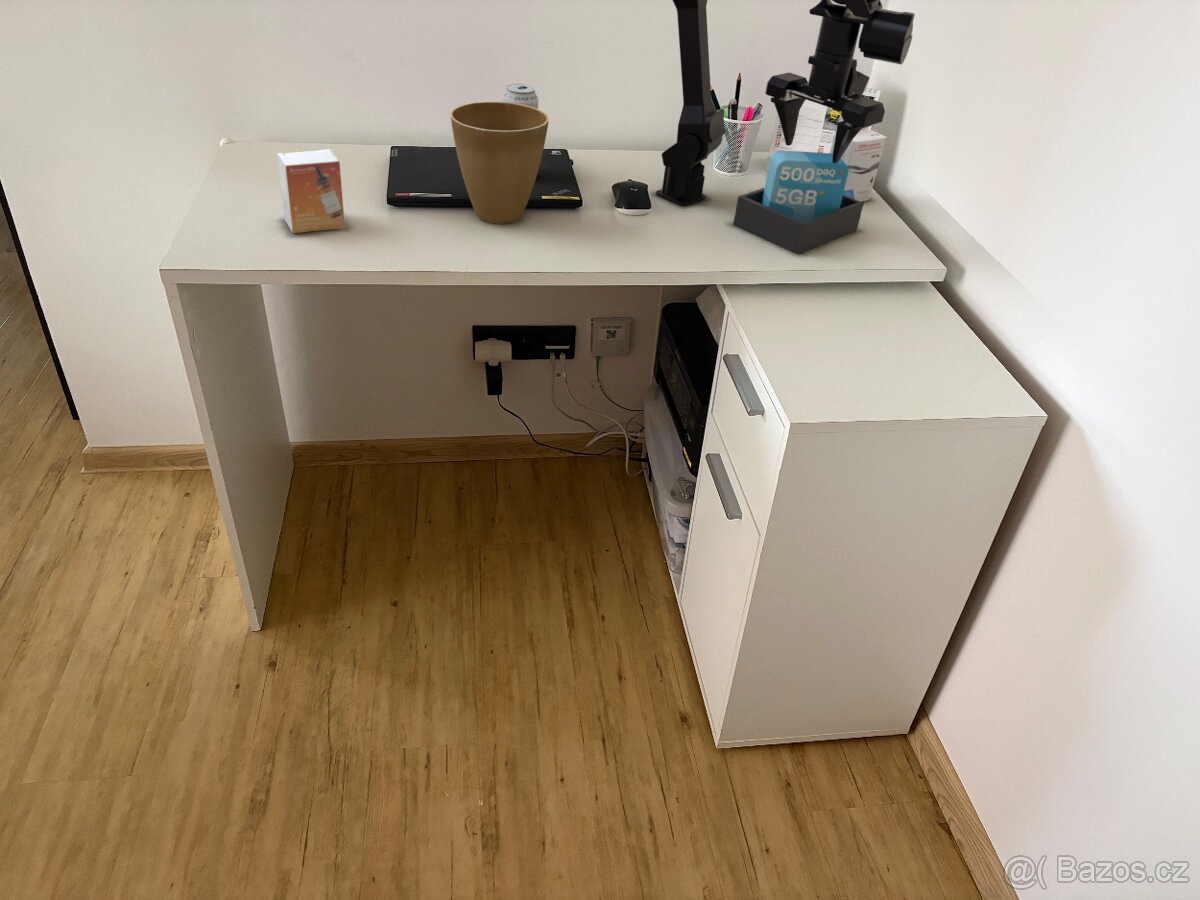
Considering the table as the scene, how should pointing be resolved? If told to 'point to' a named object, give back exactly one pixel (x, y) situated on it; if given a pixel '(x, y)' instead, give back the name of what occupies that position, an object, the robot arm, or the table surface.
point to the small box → (311, 190)
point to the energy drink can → (521, 95)
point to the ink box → (862, 162)
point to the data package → (804, 184)
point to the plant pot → (499, 156)
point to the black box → (795, 223)
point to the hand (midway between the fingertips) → (811, 153)
